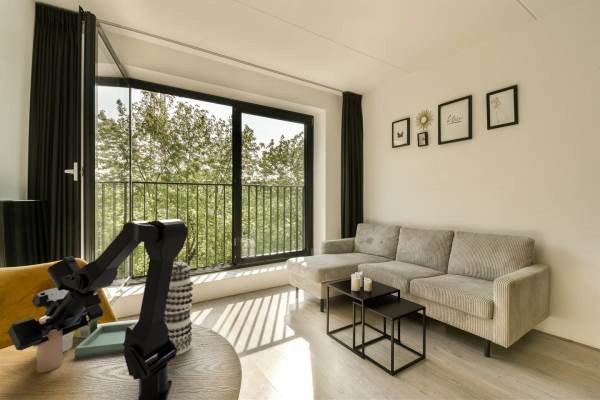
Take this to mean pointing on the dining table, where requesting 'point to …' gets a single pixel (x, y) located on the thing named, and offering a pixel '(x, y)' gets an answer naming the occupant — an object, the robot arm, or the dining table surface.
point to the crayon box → (86, 330)
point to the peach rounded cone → (50, 350)
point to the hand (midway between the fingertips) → (46, 340)
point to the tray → (104, 340)
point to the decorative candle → (179, 307)
